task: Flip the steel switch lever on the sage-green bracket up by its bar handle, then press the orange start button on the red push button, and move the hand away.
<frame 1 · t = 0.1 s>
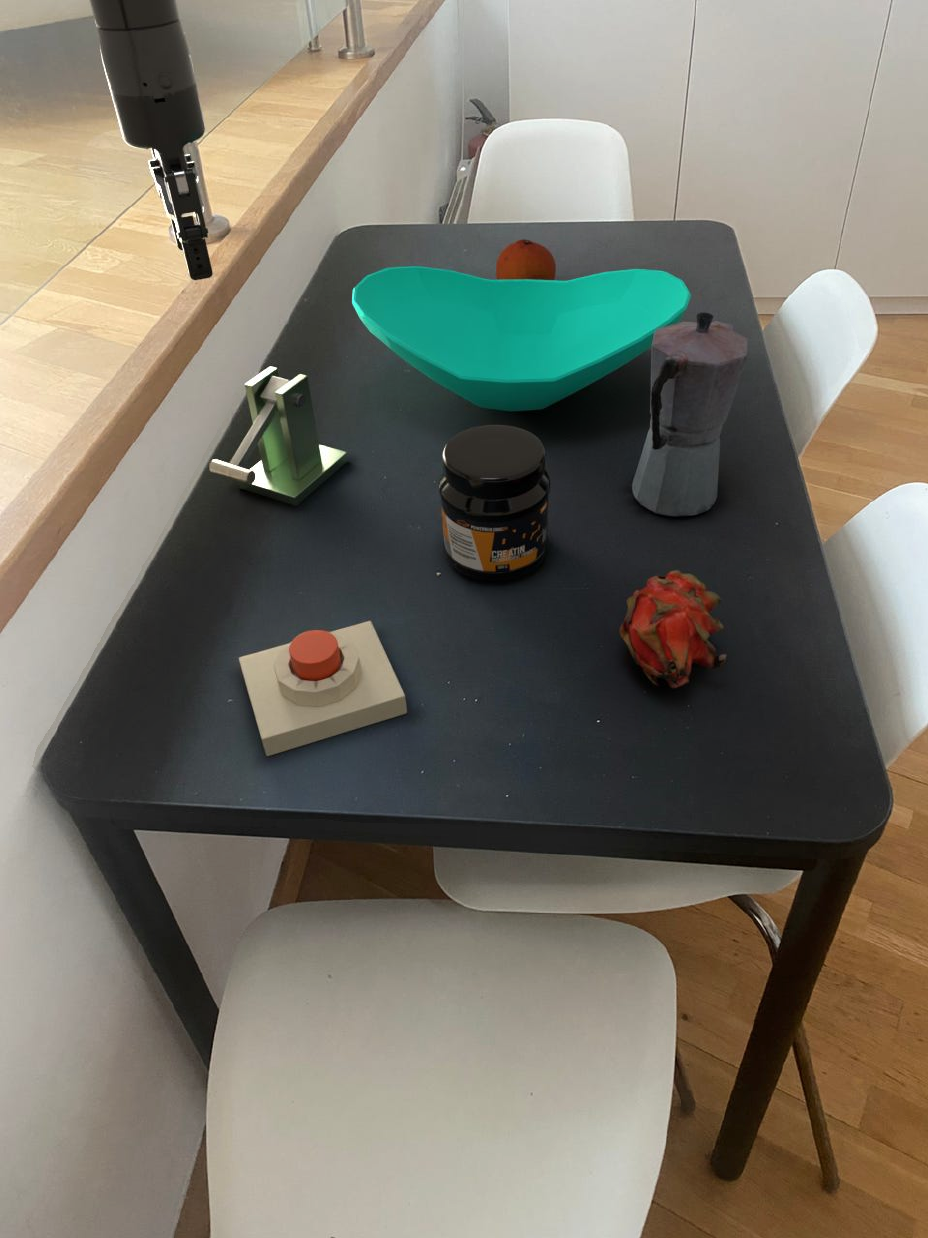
hand: (195, 262, 93), 23 cm above the table, tool pointing down, fingers open, 8 cm apart
switch bracket: (294, 474, 105), on the table
start button: (315, 655, 76), point 5 cm above the table, slide at 0.2 cm
fruit: (526, 295, 138), on the table
switch lever: (257, 430, 96), point 8 cm above the table, hinge at -25.0°
supplement container: (495, 554, 93), on the table
moka pot: (673, 499, 98), on the table
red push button: (323, 693, 79), on the table
table top decor: (518, 393, 116), on the table
dragon fruit: (667, 661, 81), on the table
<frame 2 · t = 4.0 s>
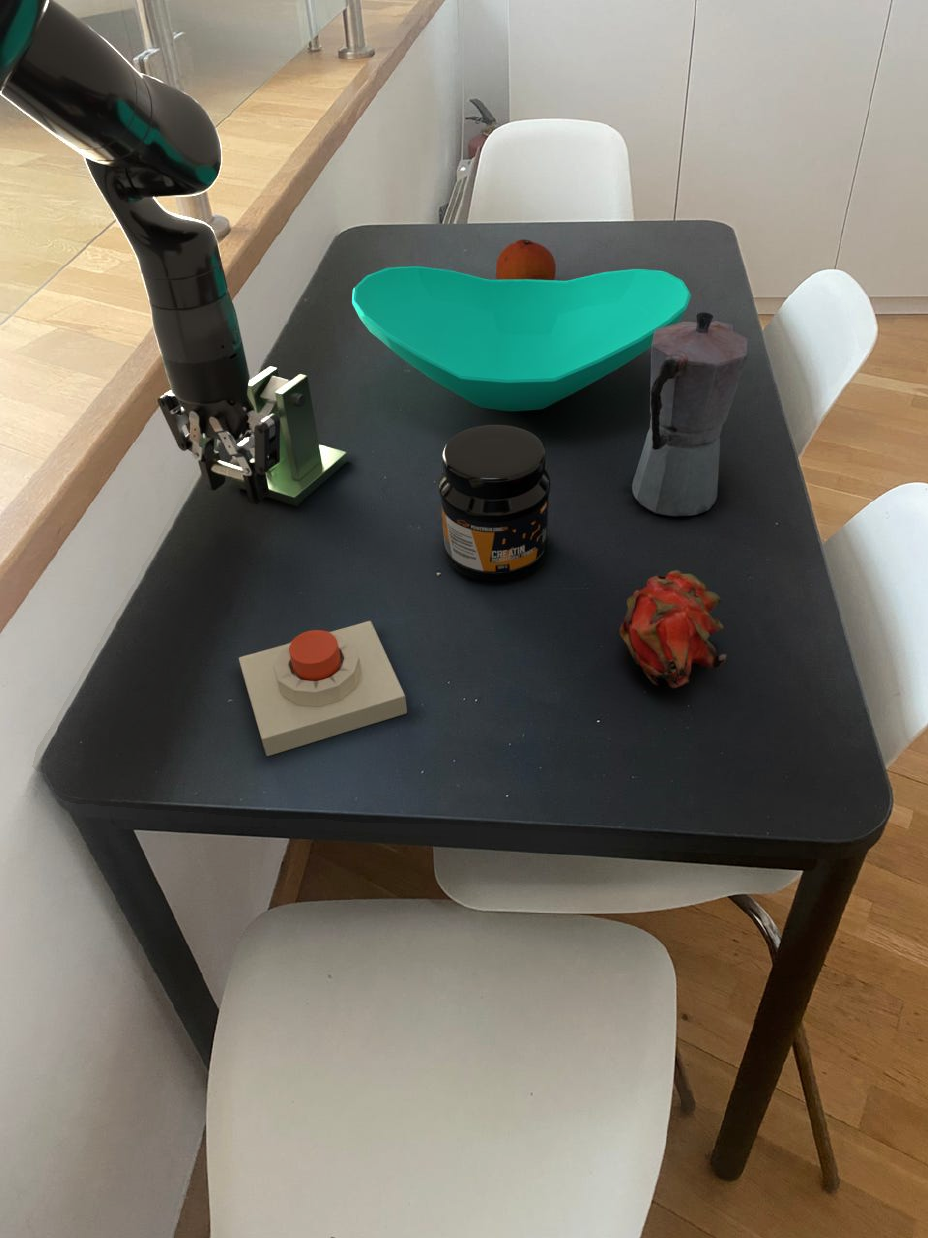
hand: (237, 492, 97), 3 cm above the table, tool pointing down, fingers closed on switch lever, 5 cm apart
switch lever: (257, 430, 96), point 8 cm above the table, hinge at -25.0°, touching gripper
everything else where it was.
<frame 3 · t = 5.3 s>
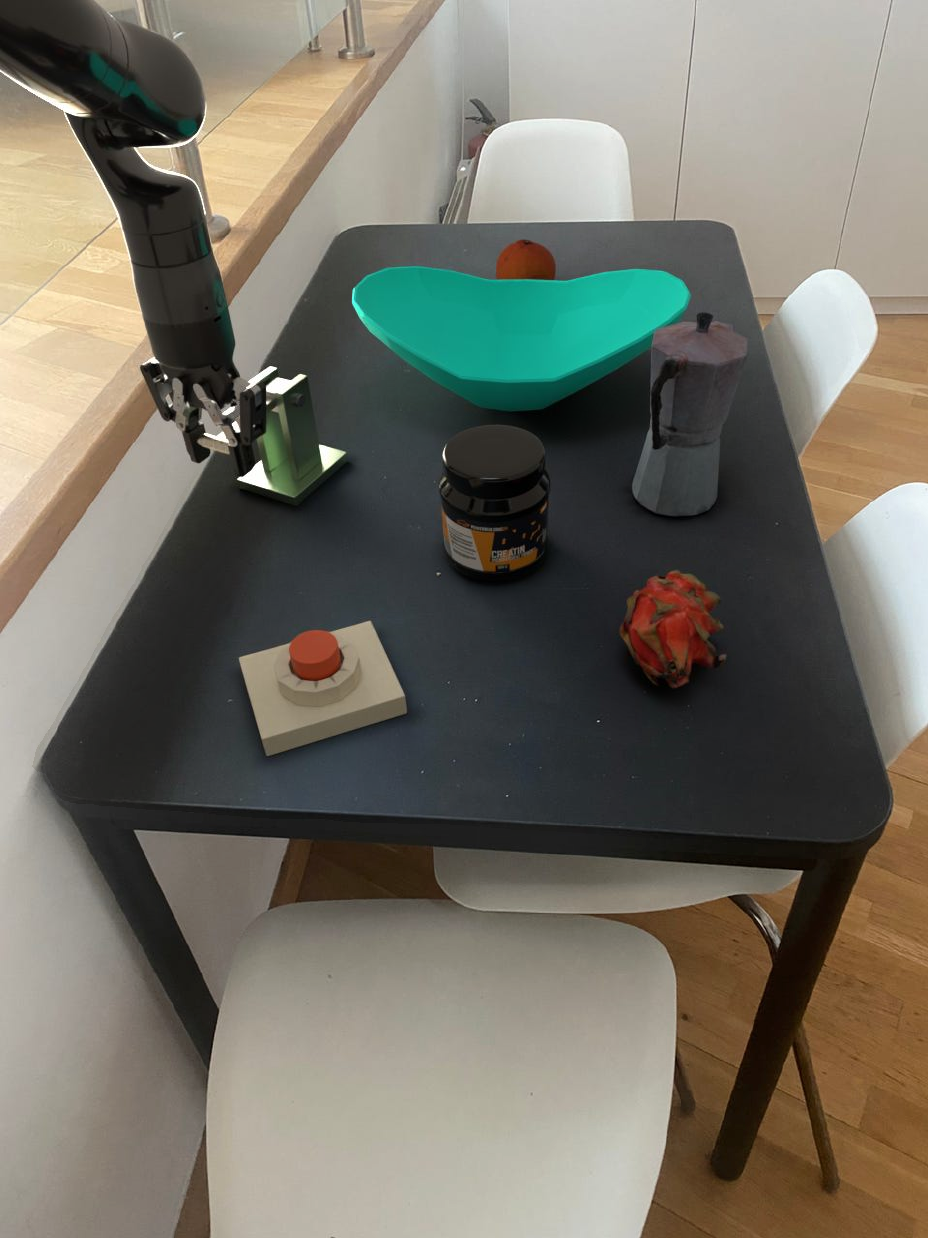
hand: (223, 465, 93), 7 cm above the table, tool pointing down, fingers closed on switch lever, 5 cm apart
switch lever: (251, 417, 95), point 10 cm above the table, hinge at -2.6°, touching gripper
everything else where it was.
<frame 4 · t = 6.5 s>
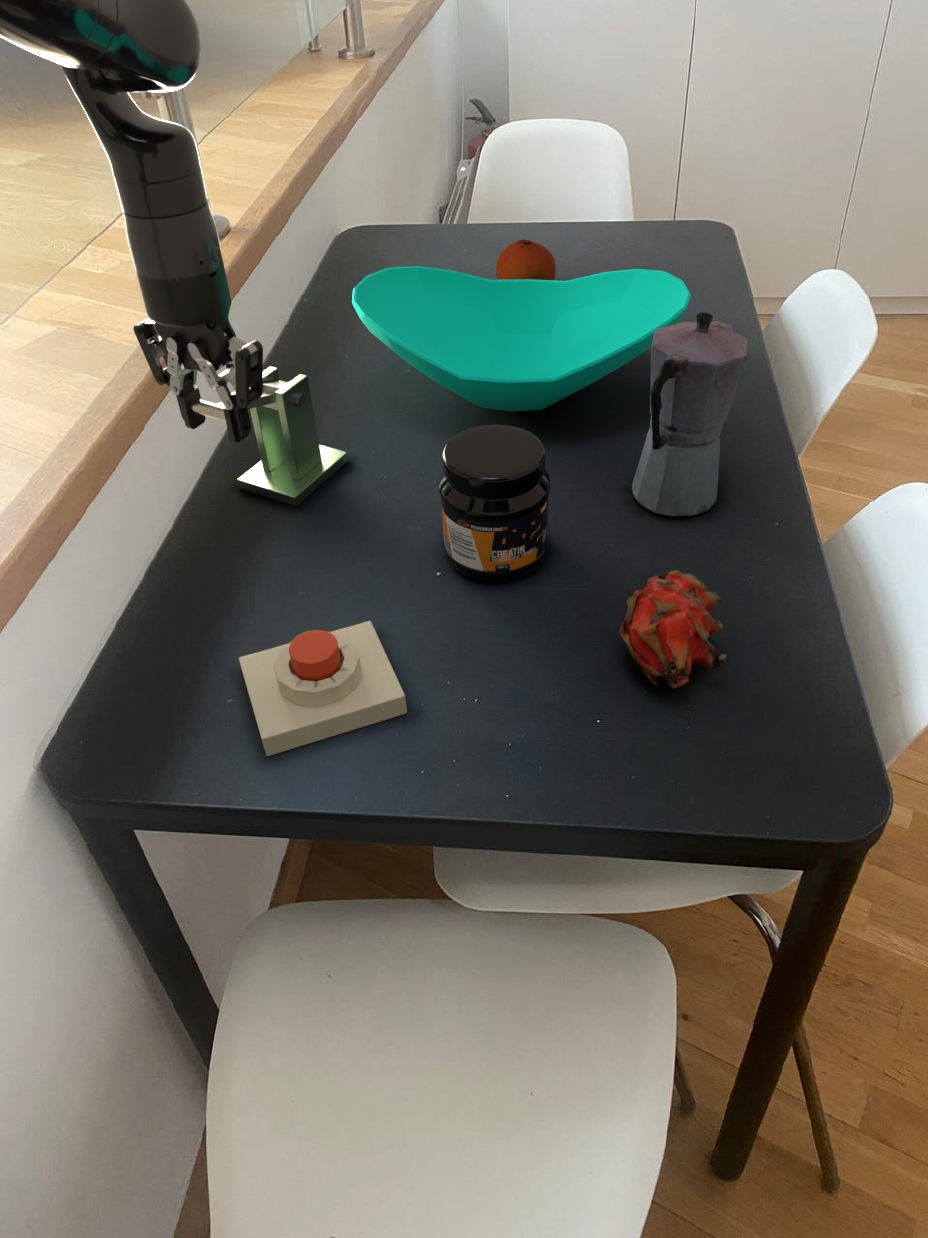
hand: (218, 430, 91), 11 cm above the table, tool pointing down, fingers closed on switch lever, 5 cm apart
switch lever: (250, 402, 94), point 11 cm above the table, hinge at 17.8°, touching gripper
everything else where it was.
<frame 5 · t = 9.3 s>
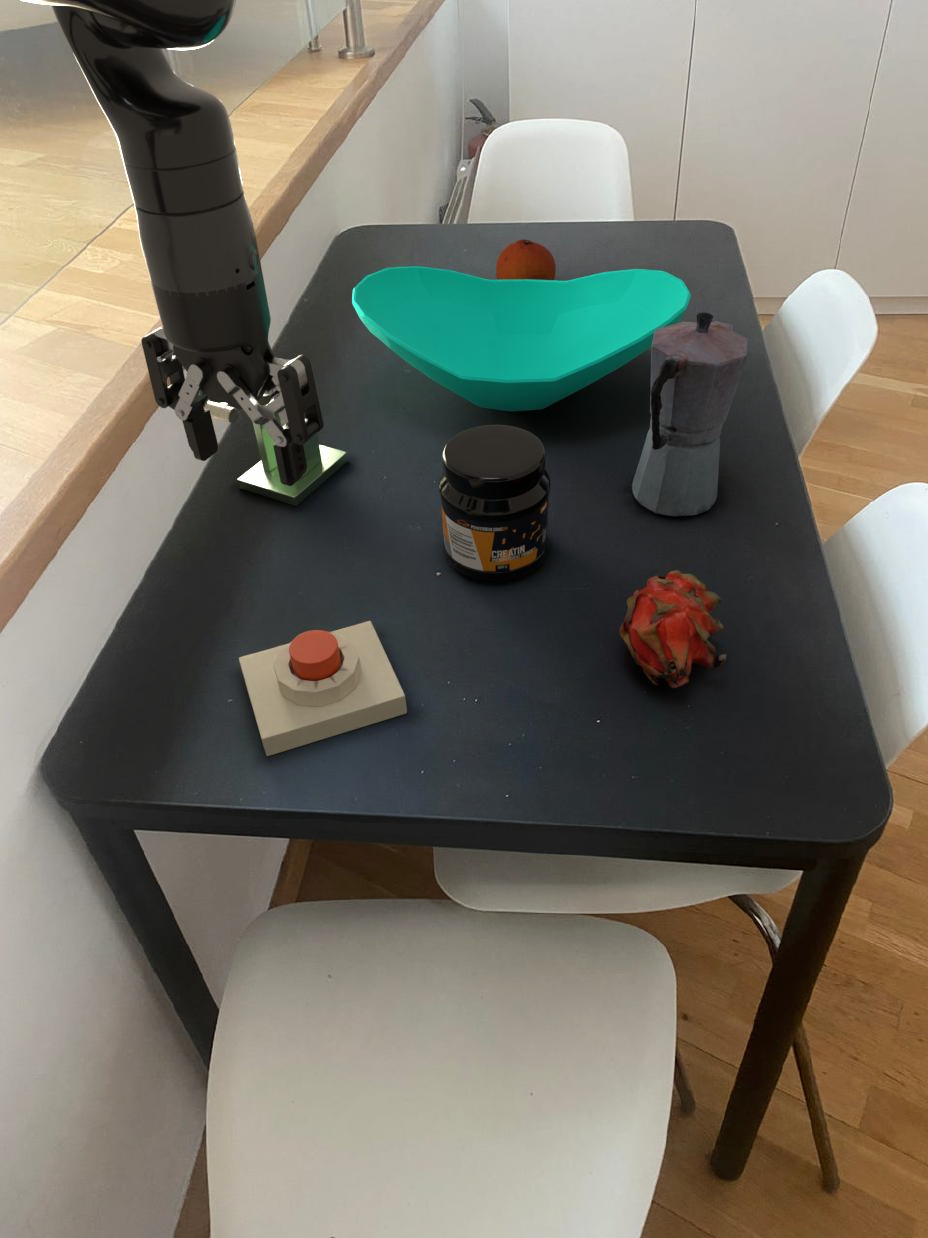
hand: (249, 467, 74), 18 cm above the table, tool pointing down, fingers open, 8 cm apart
switch lever: (250, 401, 94), point 11 cm above the table, hinge at 18.3°
everything else where it was.
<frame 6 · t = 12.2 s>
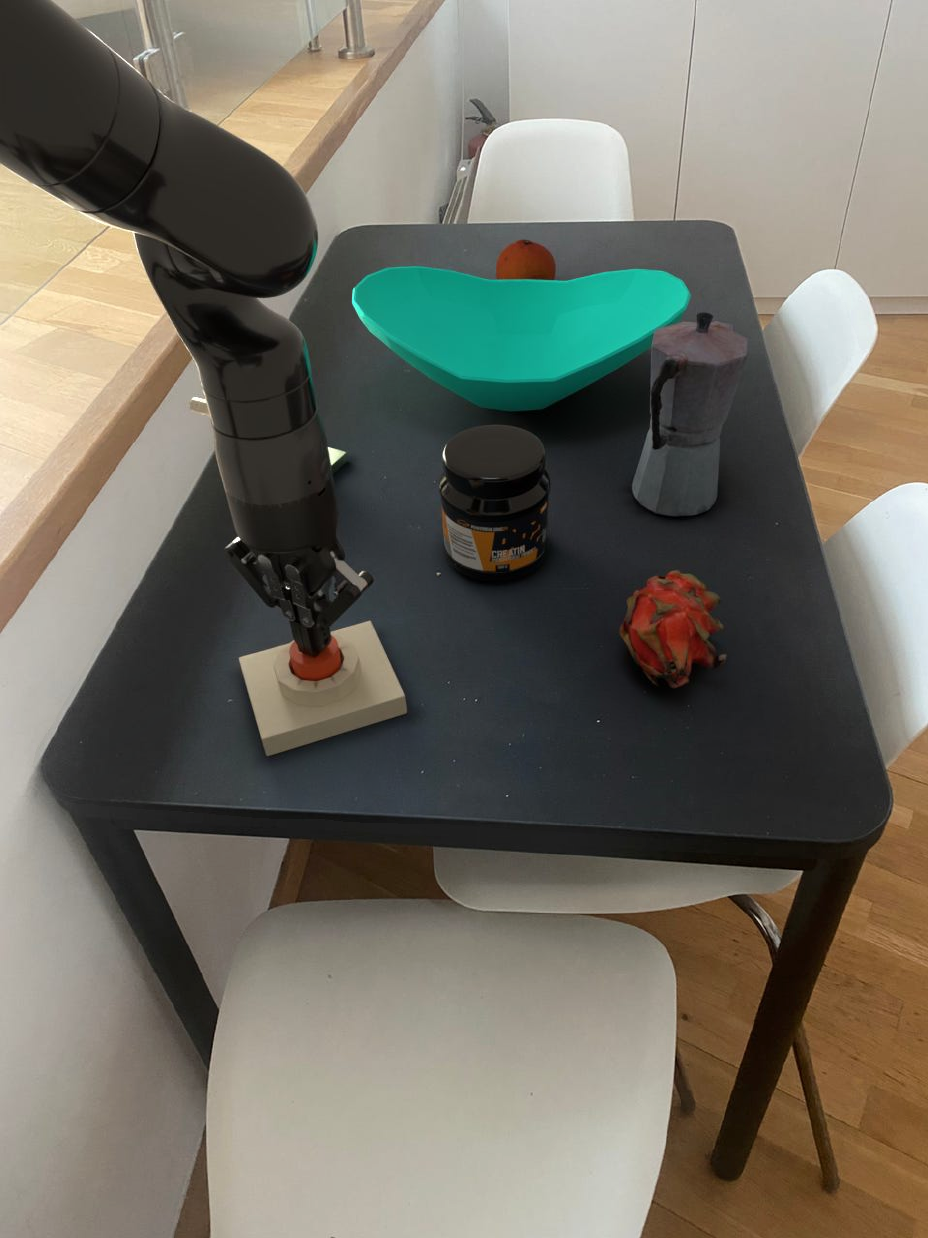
hand: (314, 648, 75), 6 cm above the table, tool pointing down, fingers closed
start button: (315, 656, 76), point 4 cm above the table, slide at 0.0 cm, touching gripper
everything else where it was.
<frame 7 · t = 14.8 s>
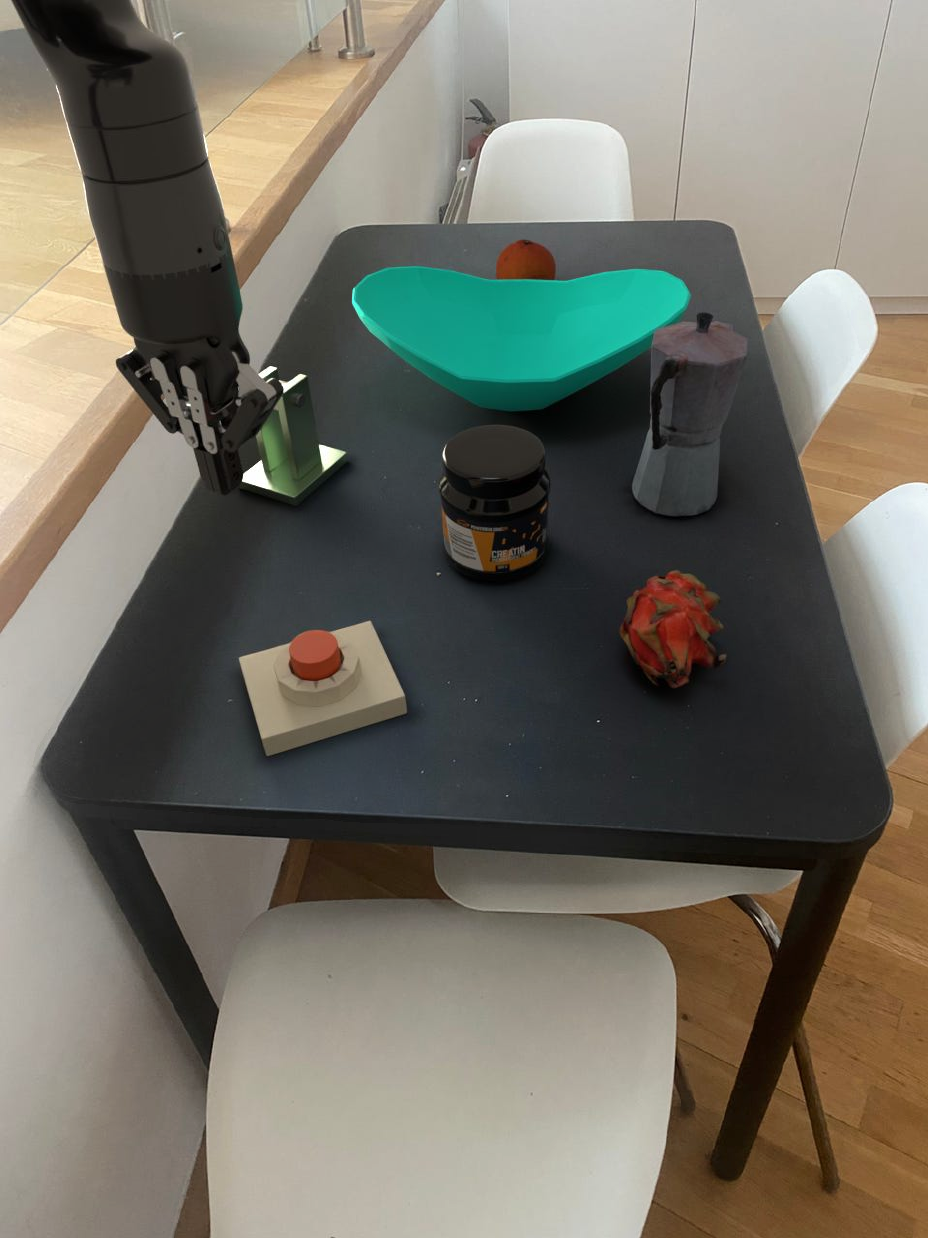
hand: (225, 487, 66), 21 cm above the table, tool pointing down, fingers closed
start button: (315, 655, 76), point 5 cm above the table, slide at 0.2 cm
everything else where it was.
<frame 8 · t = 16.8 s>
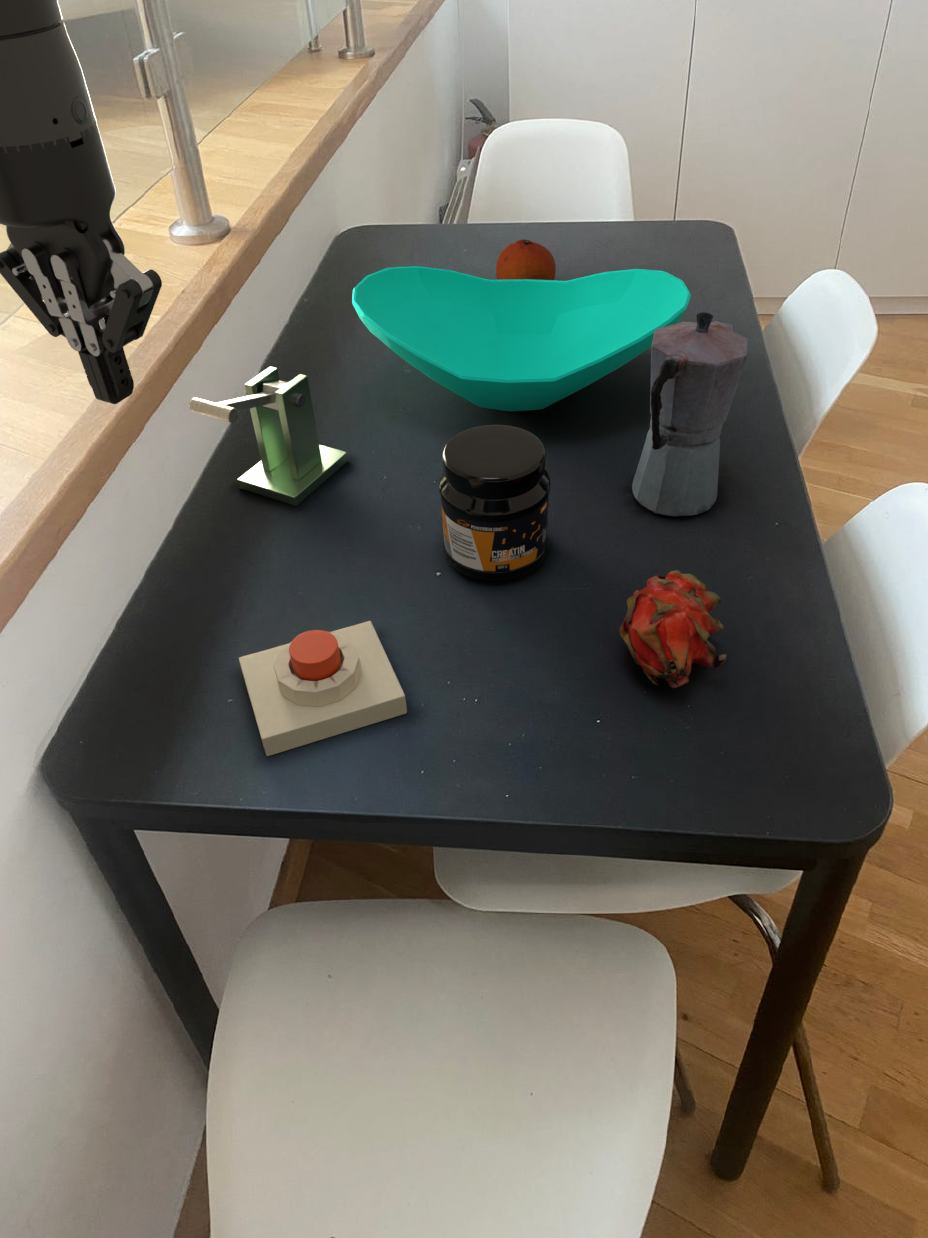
hand: (116, 396, 64), 27 cm above the table, tool pointing down, fingers closed
nothing on the table moved.
at the end: switch lever at +18° (first picture: -25°); start button pushed in 1.1 cm at the most during the clip, back to 0.2 cm at the end; start button slide at 0.2 cm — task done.
